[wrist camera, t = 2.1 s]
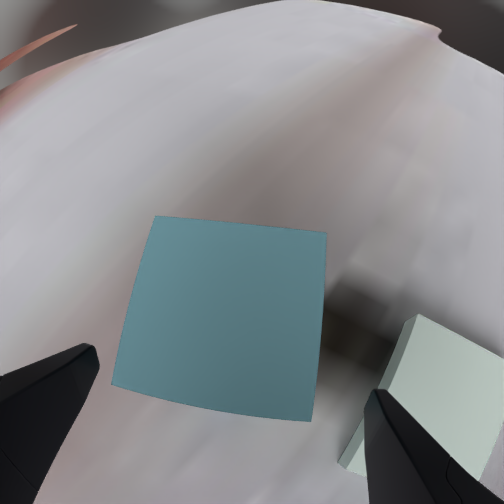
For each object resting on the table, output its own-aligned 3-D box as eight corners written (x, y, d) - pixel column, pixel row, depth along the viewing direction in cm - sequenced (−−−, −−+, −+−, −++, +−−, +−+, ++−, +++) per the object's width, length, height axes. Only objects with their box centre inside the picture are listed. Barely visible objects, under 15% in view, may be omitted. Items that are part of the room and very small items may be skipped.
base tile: (451, 496, 12) (466, 502, 10) (337, 462, 14) (345, 469, 13) (502, 371, 16) (518, 367, 14) (404, 321, 18) (418, 313, 16)
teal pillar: (280, 403, 16) (311, 421, 6) (204, 392, 17) (111, 384, 6) (289, 331, 18) (326, 232, 8) (217, 322, 19) (155, 215, 8)
